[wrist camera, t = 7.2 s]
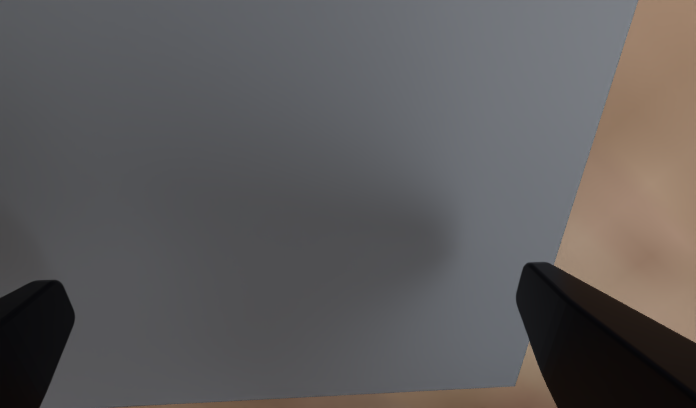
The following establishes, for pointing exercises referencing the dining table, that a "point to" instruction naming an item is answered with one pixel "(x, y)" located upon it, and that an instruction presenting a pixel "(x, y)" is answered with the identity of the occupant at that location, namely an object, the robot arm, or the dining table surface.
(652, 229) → the dining table surface
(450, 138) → the grey board
